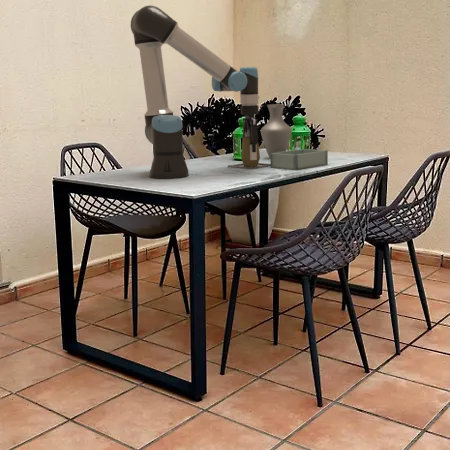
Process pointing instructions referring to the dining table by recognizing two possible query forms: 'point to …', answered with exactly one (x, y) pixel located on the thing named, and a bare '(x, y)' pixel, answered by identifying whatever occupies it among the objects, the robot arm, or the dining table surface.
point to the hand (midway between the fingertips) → (250, 158)
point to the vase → (276, 131)
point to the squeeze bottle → (248, 152)
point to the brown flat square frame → (249, 167)
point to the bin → (299, 159)
